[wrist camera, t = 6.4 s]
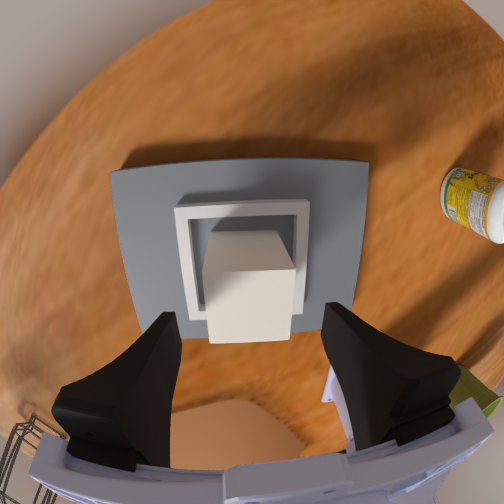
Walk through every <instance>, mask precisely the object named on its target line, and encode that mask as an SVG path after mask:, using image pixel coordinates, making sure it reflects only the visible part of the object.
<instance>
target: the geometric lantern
mask: <svg viewBox="0 0 504 504" xmlns="http://www.w3.org/2000/svg"><path fill="white" fill-rule="evenodd" d="M33 418H34V420H33V422H32V419H33ZM36 419H37V420H38V421H39V422H41V423H42V424H44V425H45V426H47V427H48V428H50V429H51V430H53V431H54V432H56V433H58V434H59V435H61V436H60V438H62V437H63V438H64V440H66V437H64V436H63V435H62V434H60V433H59V432H57V431H55V430H54V429H52V428H51V427H49V426H48V425H46V424H45V423H43V422H42V421H41V420H39V419H38V418H36V417H33V416H32V417H31V419H30V420H29V422H26V423H16V424H15V426H14V427H13V429H12V431H11V434H10V436H9V439H8V441H7V444H6V447H5V450H4V453H3V456H2V458H1V462H0V477H1V479H0V486H1V483H2V480H3V478H4V475H5V472H6V470H7V467H8V465H9V462H10V460H11V458H12V455H13V453H14V451H15V448H16V446H17V448H16V451H15V453H14V456H13V459H12V462H11V465H10V468H9V471H8V474H7V477H6V481H5V484H4V488H3V491H0V494H1V495H2V498H3V501H4V504H6V501H5V497H6V498H7V499H9V500H10V501H12V502H13V503H15V504H17V503H18V502H17V501H15V500H13V499H12V498H10V497H9V496H8V495H6V494H5V491H6V487H7V484H8V480H9V477H10V474H11V471H12V468H13V465H14V462H15V459H16V456H17V453H18V451H19V448H20V445H21V443H22V440H23V441H25V442H26V443H27V444H29V445H30V446H32V447H33V448H34V449H36V450H37V448H36V447H35V446H33V445H32V444H30V443H29V442H28V441H26V440H25V439H24V436H25V435H26V434H28V433H31V434H32V435H33V436H35V437H36V438H38V439H39V440H40V439H41V438H40V437H39V436H38V435H36V434H35V433H34V432H32V430H33V428H34V429H36V428H37V429H36V430H37V431H39V430H40V431H39V432H40V433H41V434H43V433H44V431H42V430H41V429H39V428H38V427H37V426H35V425H34V422H35V420H36ZM31 422H32V423H31ZM24 424H28V425H27V426H24ZM18 426H20V427H23V428H24V429H17V427H18ZM30 426H32V428H31V430H30V429H29V427H30ZM35 427H36V428H35ZM16 430H24V431H23V433H22V435H21V436H20V435H19V434H18V433H17V432H16ZM26 430H28V432H26ZM42 432H43V433H42ZM15 433H16V434H17V436H18V439H17V441H16V443H15V445H14V447H13V449H12V452H11V454H10V456H9V459H8V461H7V464H6V466H5V468H4V471H3V474H2V476H1V473H2V470H3V466H4V463H5V460H6V457H7V454H8V451H9V448H10V446H11V443H12V440H13V438H14V435H15ZM18 442H19V443H18ZM17 444H18V445H17ZM41 487H42V484H41V483H40V486H39V488H38V491H37V494H36V497H35V499H34V502H33V504H36V501H37V498H38V495H39V493H40V490H41ZM49 490H50V489H47V491H46V494H45V496H44V499H43V501H42V504H44V503H45V500H46V498H47V495H48V493H49V495H48V499H47V502H46V504H49V502H50V499H51V495H52V492H53V491H52V490H50V492H49ZM57 495H58V494H56V493H55V495H54V497H53V500H52V502H51V504H54V502H55V500H56V497H57ZM0 499H1V496H0ZM1 501H2V499H1ZM14 501H15V502H14ZM2 504H3V502H2ZM18 504H20V503H18Z"/></svg>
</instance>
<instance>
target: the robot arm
mask: <svg viewBox="0 0 504 504" xmlns="http://www.w3.org/2000/svg"><path fill="white" fill-rule="evenodd" d="M321 338H322V342H323V346H324V349H325V352H326V355H327V357H328V359H329V361H330V364H331V365H330V369H329V373H328V377H327V381H326V385H325V388H324V392H323V396H322V402H330V401H334V402H335V405H336V408H337V410H338V413H339V416H340V419H341V422H342V424H343V427H344V430H345V433H346V436H347V439H348V442H349V443H348V444H346V445H345V449H346V452H347V453H346V454H341V453H336V452H334V453H326V454H320V455H314V456H309V457H303V458H297V459H291V460H283V461H274V462H264V463H251V464H245V465H237V466H235V467H232V468H229V469H227V470H221V471H220V470H219V471H218V470H187V469H174V468H170V421H171V407H172V400H173V394H174V390H175V385H176V380H177V376H178V371H179V367H180V362H181V351H182V341H181V337H180V332H179V328H178V323H177V318H176V314H175V312H162V313H161V314H160V315H159V316H158V318H157V319H156V320H155V321H154V322H153V323H152V324H151V325H150V327H149V328H148V329H147V330H146V331H145V332H144V333H143V334H142V335H141V336H140V337H139V338H138V339H137V340H136V341H135V342H134V343H133V344H132V345H131V346H130V347H129V348H128V349H127V350H126V351H125V352H123V353H122V354H121V355H120V356H118V357H117V358H116V359H115V360H113V361H112V362H110V363H109V364H107V365H106V366H104V367H103V368H101V369H100V370H98V371H96V372H94V373H93V374H91V375H89V376H87V377H85V378H83V379H81V380H78V381H76V382H73V383H71V384H68V385H66V386H63V387H62V388H61V390H60V392H59V394H58V396H57V398H56V400H55V402H54V404H53V406H52V410H51V412H52V414H53V417H54V418H55V420H56V421H57V422H58V423H59V425H60V426H61V427H62V428H63V429H64V430H65V431H66V432H67V433H68V435H69V436H70V440H69V442H67V441H66V440H64V439H62V438H59V437H57V436H54V435H51V434H48V433H45V432H44V433H43V434H42V437H41V439H40V442H39V444H38V447H37V450H36V453H35V455H34V458H33V461H32V464H31V467H30V470H29V473H28V474H29V475H30V476H31V477H32V478H34V479H35V480H37V481H38V482H39V483H41V484H42V485H44V486H46V487H47V488H48V489H50V490H52V491H53V492H55V493H56V494H58V495H60V496H62V497H64V498H66V499H69V500H71V501H74V502H76V503H79V504H439V502H438V499H437V497H436V493H437V491H438V490H439V488H440V487H441V485H442V483H443V482H444V480H445V479H446V477H447V475H448V473H449V471H450V469H451V468H452V467H453V466H455V465H456V464H458V463H460V462H461V461H463V460H464V459H466V458H467V457H468V456H469V455H470V454H472V453H473V452H474V451H475V450H476V449H477V448H478V447H479V446H480V445H482V444H483V443H484V442H485V441H486V440H487V439H488V438H489V437H490V436H491V435H492V434H493V433H494V429H493V428H492V426H491V424H490V423H489V421H488V420H487V418H486V417H485V415H484V414H483V412H482V411H481V409H480V408H479V406H478V405H477V403H476V402H475V400H474V399H473V397H470V398H468V399H466V400H464V401H463V402H461V403H459V404H457V405H456V406H455V407H453V408H452V409H451V407H450V406H449V404H450V403H451V399H450V398H449V394H450V393H451V391H452V390H453V388H454V387H455V385H456V384H457V382H458V380H459V378H460V375H461V369H460V368H459V366H458V365H457V364H456V362H455V361H454V360H453V359H452V357H449V356H443V355H438V354H433V353H430V352H426V351H423V350H419V349H416V348H414V347H411V346H408V345H406V344H403V343H401V342H399V341H397V340H395V339H393V338H391V337H389V336H387V335H385V334H383V333H382V332H380V331H378V330H377V329H375V328H374V327H372V326H371V325H369V324H368V323H366V322H365V321H363V320H362V319H360V318H359V317H358V316H356V315H355V314H354V313H352V312H351V311H350V310H348V309H347V308H346V307H344V306H343V305H341V304H340V303H339V302H328V303H325V310H324V317H323V323H322V330H321Z"/></svg>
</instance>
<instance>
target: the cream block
mask: <svg viewBox="0 0 504 504" xmlns="http://www.w3.org/2000/svg"><path fill="white" fill-rule="evenodd" d="M295 275H296V268H295V266H294V264H293V262H292V260H291V258H290V256H289V254H288V252H287V250H286V248H285V246H284V244H283V242H282V240H281V238H280V236H279V234H278V232H277V230H257V231H219V232H210V235H209V240H208V245H207V250H206V255H205V260H204V265H203V270H202V277H203V288H204V298H205V307H206V317H207V325H208V334H209V342H210V343H244V342H263V341H279V340H289V338H290V329H291V319H292V309H293V298H294V287H295Z"/></svg>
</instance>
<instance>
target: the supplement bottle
mask: <svg viewBox="0 0 504 504" xmlns="http://www.w3.org/2000/svg"><path fill="white" fill-rule="evenodd" d="M440 201H441V206H442V209H443V211H444V213H445V215H446V216H447V217H448V218H450V219H451V220H453V221H455V222H457V223H459V224H461V225H463V226H465V227H467V228H469V229H471V230H473V231H475V232H477V233H478V234H480V235H482V236H484V237H486V238H488V239H489V240H491V241H493V242H495V243H504V180H502V179H499V178H496V177H492V176H489V175H486V174H482V173H479V172H476V171H472V170H468V169H464V168H455V169H453V170H451V171H450V172H449V173H448V174H447V175H446V177H445V178H444V181H443V183H442V186H441V192H440Z"/></svg>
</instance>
